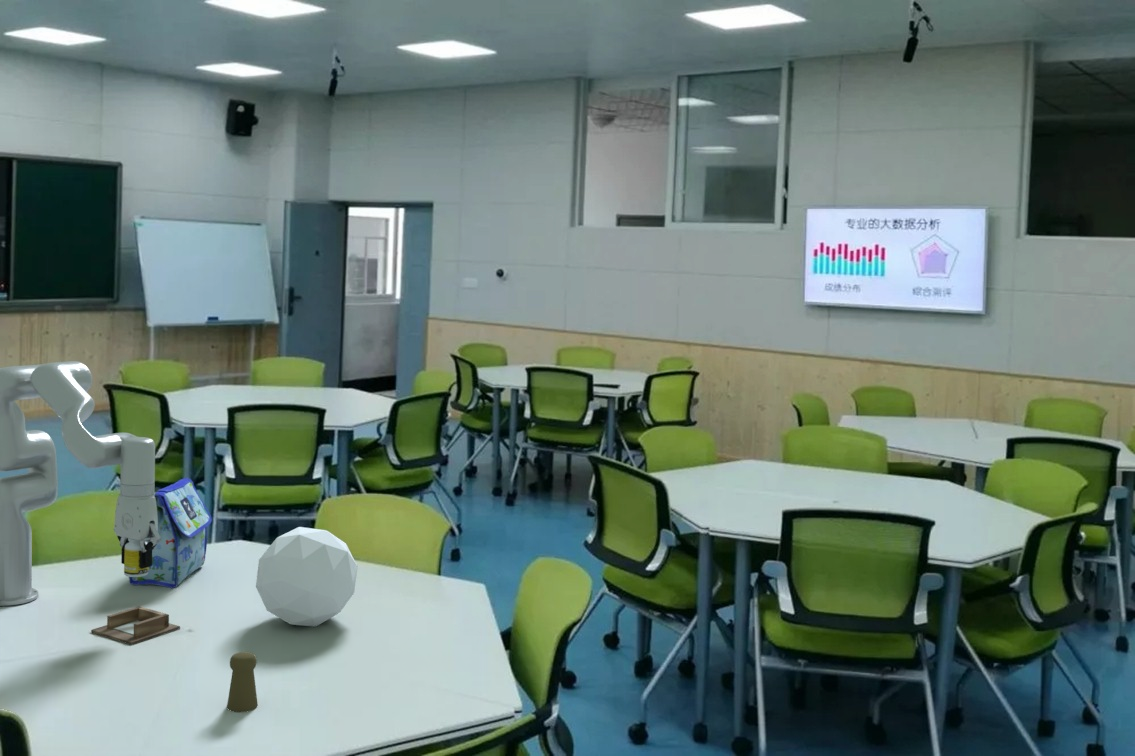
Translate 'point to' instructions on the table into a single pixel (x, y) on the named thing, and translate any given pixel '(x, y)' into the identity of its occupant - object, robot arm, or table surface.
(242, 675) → the olive game pawn
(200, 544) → the lunch bag
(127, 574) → the supplement bottle
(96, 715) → the table surface
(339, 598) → the geometric polyhedron
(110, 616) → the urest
